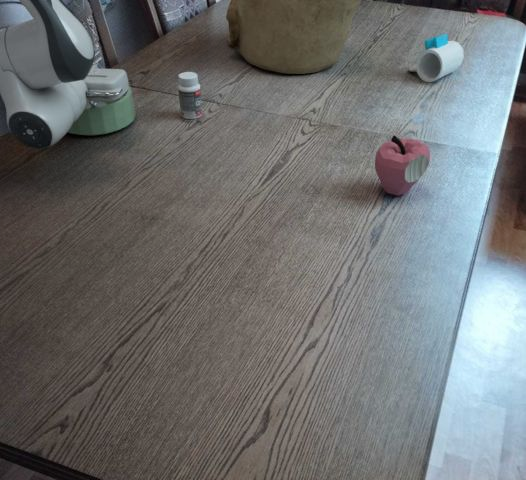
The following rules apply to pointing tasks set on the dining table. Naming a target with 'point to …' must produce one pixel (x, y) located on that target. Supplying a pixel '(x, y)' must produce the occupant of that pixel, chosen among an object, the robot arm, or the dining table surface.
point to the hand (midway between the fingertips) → (87, 67)
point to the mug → (438, 58)
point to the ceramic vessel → (290, 32)
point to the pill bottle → (189, 95)
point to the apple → (401, 164)
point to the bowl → (106, 117)
